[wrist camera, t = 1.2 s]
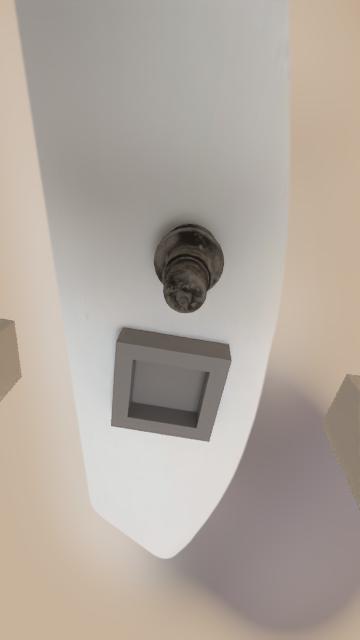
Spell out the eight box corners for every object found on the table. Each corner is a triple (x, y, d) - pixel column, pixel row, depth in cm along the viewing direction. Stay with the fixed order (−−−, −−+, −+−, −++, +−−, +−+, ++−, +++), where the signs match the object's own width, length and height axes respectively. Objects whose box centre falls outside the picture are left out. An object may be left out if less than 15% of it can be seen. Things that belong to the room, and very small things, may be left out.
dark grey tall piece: (179, 292, 30) (167, 359, 20) (147, 241, 28) (114, 285, 18) (232, 264, 29) (250, 321, 18) (202, 208, 27) (203, 234, 16)
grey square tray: (123, 327, 33) (116, 341, 30) (229, 344, 33) (231, 360, 30) (117, 407, 38) (111, 426, 35) (208, 422, 38) (209, 441, 35)
